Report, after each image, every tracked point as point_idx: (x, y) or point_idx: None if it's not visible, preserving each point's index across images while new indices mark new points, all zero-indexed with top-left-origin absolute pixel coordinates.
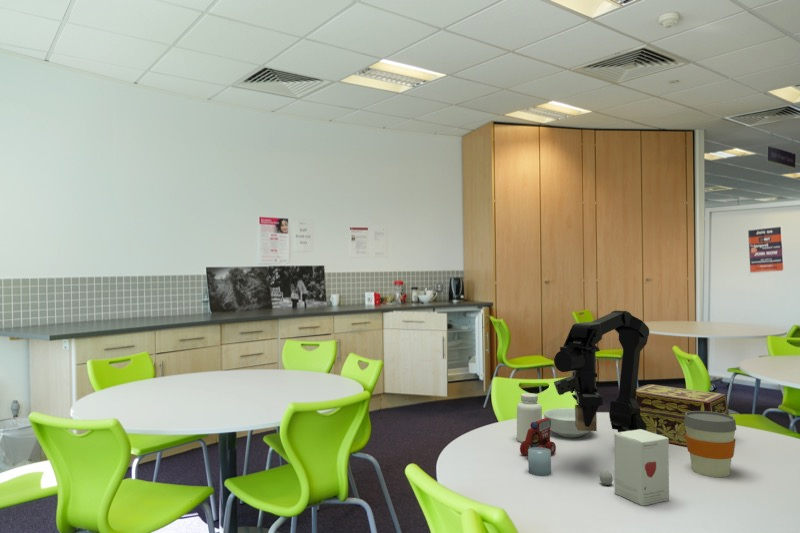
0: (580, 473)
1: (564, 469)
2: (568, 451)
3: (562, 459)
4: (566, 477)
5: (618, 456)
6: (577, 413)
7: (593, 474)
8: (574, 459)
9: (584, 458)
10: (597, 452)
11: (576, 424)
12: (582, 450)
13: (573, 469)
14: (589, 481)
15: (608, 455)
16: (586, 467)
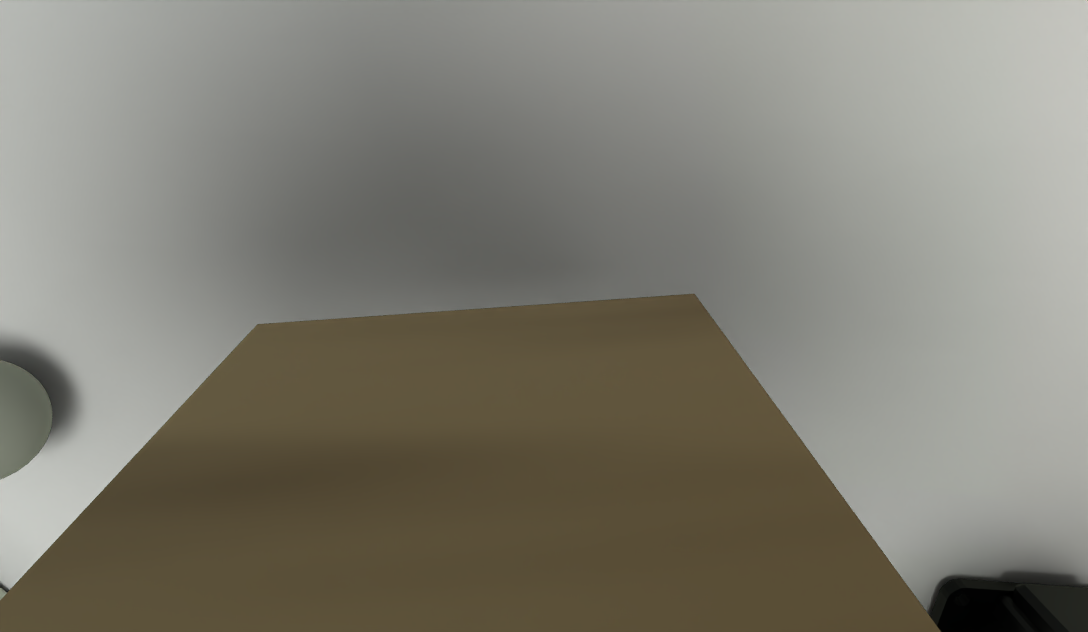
0: (251, 183)
1: (332, 8)
2: (1019, 106)
3: (704, 8)
4: (55, 14)
5: None
6: (61, 621)
7: (265, 308)
8: (721, 154)
9: (767, 265)
10: (976, 408)
11: (488, 340)
12: (1050, 268)
13: (363, 116)
14: (34, 252)
15: (881, 493)
16: (467, 260)
